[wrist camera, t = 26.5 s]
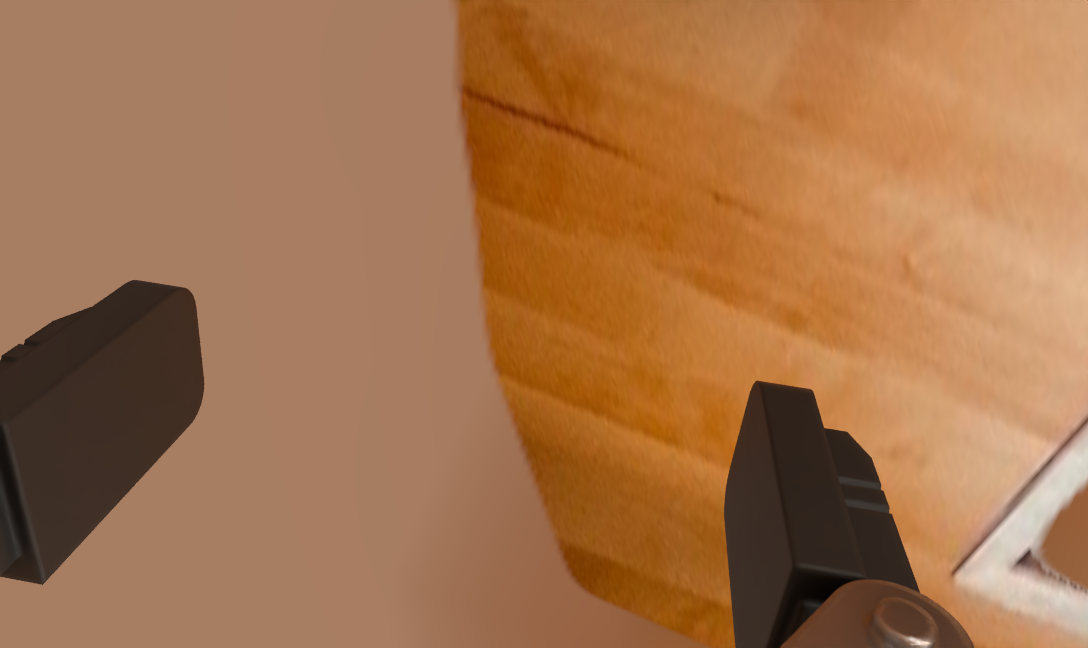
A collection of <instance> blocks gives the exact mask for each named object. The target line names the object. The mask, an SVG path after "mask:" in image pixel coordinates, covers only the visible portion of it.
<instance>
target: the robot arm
mask: <svg viewBox="0 0 1088 648" xmlns="http://www.w3.org/2000/svg"><path fill="white" fill-rule="evenodd" d="M203 392H204V376H203V367H202V357H201V348H200V338H199V329H198V319H197V310H196V304H195V300H194V297H193V295H192V293H191V292H190V291H189V290H188V289H186V288H182V287H176V286H170V285H164V284H158V283H152V282H145V281H138V280H132V281H129V282H127V283H126V284H124V285H123V286H121V287H120V288H118V289H117V290H116V291H114V292H113V293H111V294H110V295H109V296H107V297H106V298H104V299H103V300H101V301H100V302H98V303H97V304H95V305H94V306H93V307H90V308H87V309H84V310H82V311H79V312H76V313H74V314H71V315H68V316H65V317H63V318H60V319H57V320H55V321H52V322H51V323H49V324H48V325H47V326H45V327H44V328H42V329H41V330H39V331H38V332H36V333H35V334H33V335H32V336H30V337H29V338H27V339H26V340H25V343H24V345H22V344H18V345H17V346H15V347H14V348H12V349H11V350H10V351H8V352H7V353H5V354H4V355H2V358H1V360H0V577H5V578H11V579H16V580H21V581H27V582H32V583H37V584H42V585H43V584H44V583H45V582H46V581H47V580H48V578H49V577H50V576H51V575H52V574H53V573H54V572H55V571H56V570H57V569H58V568H59V567H60V565H61V564H62V563H63V562H64V561H65V560H66V559H67V558H68V557H69V556H70V555H71V553H72V552H73V551H74V550H75V549H76V548H77V547H78V546H79V545H80V544H81V543H82V542H83V540H84V539H85V538H86V537H87V536H88V535H89V534H90V533H91V532H92V531H93V530H94V528H95V527H96V526H97V525H98V524H99V523H100V522H101V521H102V520H103V519H104V517H106V515H107V514H108V513H109V512H110V511H111V510H112V509H113V508H114V507H115V506H116V505H117V504H118V503H119V501H120V500H121V499H122V498H123V497H124V496H125V495H126V494H127V493H128V492H129V491H130V489H131V488H132V487H133V486H134V485H135V484H136V483H137V482H138V481H139V480H140V479H141V478H142V476H143V475H144V474H145V473H146V472H147V471H148V470H149V469H150V468H151V467H152V466H153V464H154V463H155V462H156V461H157V460H158V459H159V458H160V457H161V456H162V455H163V454H164V453H165V451H166V450H167V449H168V448H169V447H170V446H171V445H172V444H173V443H174V442H175V441H176V440H177V439H178V437H179V436H180V435H181V434H182V433H183V432H184V431H185V430H186V428H188V427H189V425H190V424H191V423H192V422H193V420H194V419H195V417H196V415H197V413H198V411H199V408H200V406H201V402H202V398H203ZM724 518H725V530H726V542H727V553H728V565H729V576H730V588H731V600H732V611H733V623H734V635H735V646H736V648H974V645H973V643H972V641H971V639H970V637H969V636H968V634H967V632H966V631H965V630H964V628H963V627H962V626H961V625H960V623H959V622H958V621H957V620H956V619H955V618H954V617H953V616H952V615H951V614H950V613H949V612H947V611H946V610H945V609H944V608H943V607H941V606H940V605H939V604H937V603H936V602H934V601H933V600H931V599H930V598H928V597H926V596H924V595H923V594H921V593H920V591H919V588H918V586H917V583H916V580H915V577H914V575H913V572H912V569H911V566H910V563H909V561H908V558H907V555H906V552H905V550H904V547H903V544H902V541H901V538H900V536H899V533H898V530H897V527H896V525H895V522H894V519H893V516H892V514H889V505H888V502H887V500H886V497H885V494H884V491H882V490H881V483H880V480H879V477H878V475H877V472H876V469H875V466H874V463H873V461H872V458H871V457H870V456H869V455H868V454H867V453H866V452H865V450H864V449H863V448H862V447H861V446H860V445H859V444H858V443H857V442H856V441H855V440H854V439H853V438H852V437H851V435H850V434H849V433H848V432H845V431H839V430H833V429H826V428H824V426H823V423H822V420H821V416H820V413H819V409H818V406H817V402H816V399H815V395H814V393H813V391H812V390H811V389H806V388H800V387H793V386H787V385H781V384H775V383H768V382H762V381H756V382H755V383H754V384H753V386H752V389H751V392H750V395H749V398H748V402H747V406H746V409H745V413H744V417H743V421H742V425H741V428H740V432H739V436H738V440H737V444H736V447H735V451H734V455H733V459H732V463H731V466H730V470H729V474H728V479H727V485H726V493H725V505H724Z"/></svg>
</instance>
